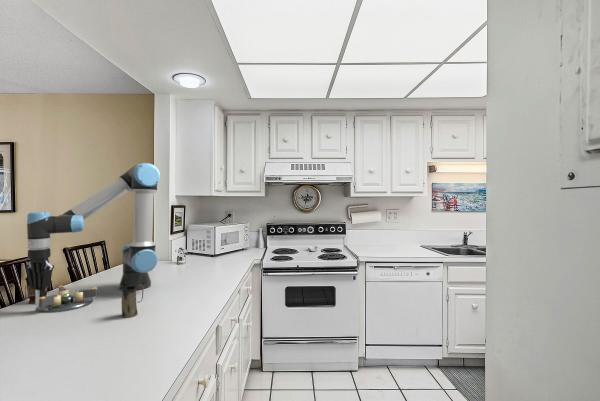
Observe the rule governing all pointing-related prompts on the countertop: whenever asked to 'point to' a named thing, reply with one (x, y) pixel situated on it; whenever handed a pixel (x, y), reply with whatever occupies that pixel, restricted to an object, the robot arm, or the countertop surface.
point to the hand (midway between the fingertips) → (40, 304)
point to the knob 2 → (62, 290)
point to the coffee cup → (32, 292)
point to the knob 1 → (50, 301)
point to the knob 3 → (85, 294)
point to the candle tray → (66, 304)
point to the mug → (129, 301)
